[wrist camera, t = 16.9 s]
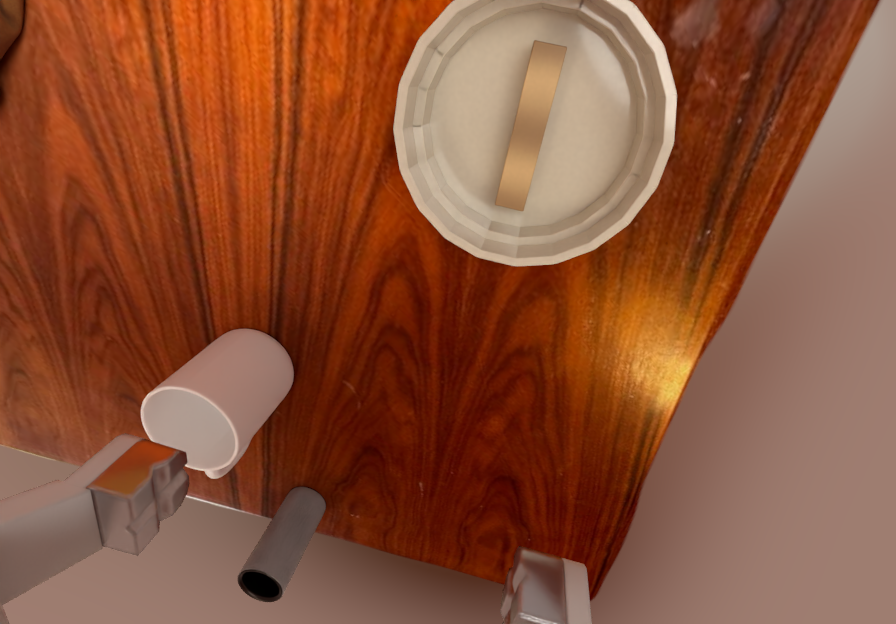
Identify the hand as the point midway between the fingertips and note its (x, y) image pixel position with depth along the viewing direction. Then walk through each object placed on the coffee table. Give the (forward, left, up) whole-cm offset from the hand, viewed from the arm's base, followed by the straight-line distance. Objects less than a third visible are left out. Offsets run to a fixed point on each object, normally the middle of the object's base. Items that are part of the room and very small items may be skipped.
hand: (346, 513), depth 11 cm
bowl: (-2, -7, -29) cm, 30 cm away
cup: (+18, +21, -29) cm, 40 cm away
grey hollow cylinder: (+12, +36, -29) cm, 48 cm away
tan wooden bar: (-2, -7, -28) cm, 29 cm away
